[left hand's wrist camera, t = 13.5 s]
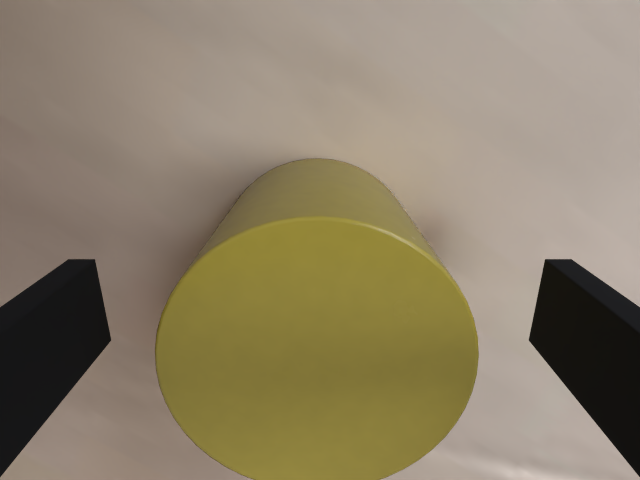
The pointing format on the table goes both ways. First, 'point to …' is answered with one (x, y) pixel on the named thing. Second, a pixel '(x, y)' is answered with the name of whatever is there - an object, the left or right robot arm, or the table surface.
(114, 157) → the table surface
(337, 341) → the canister
